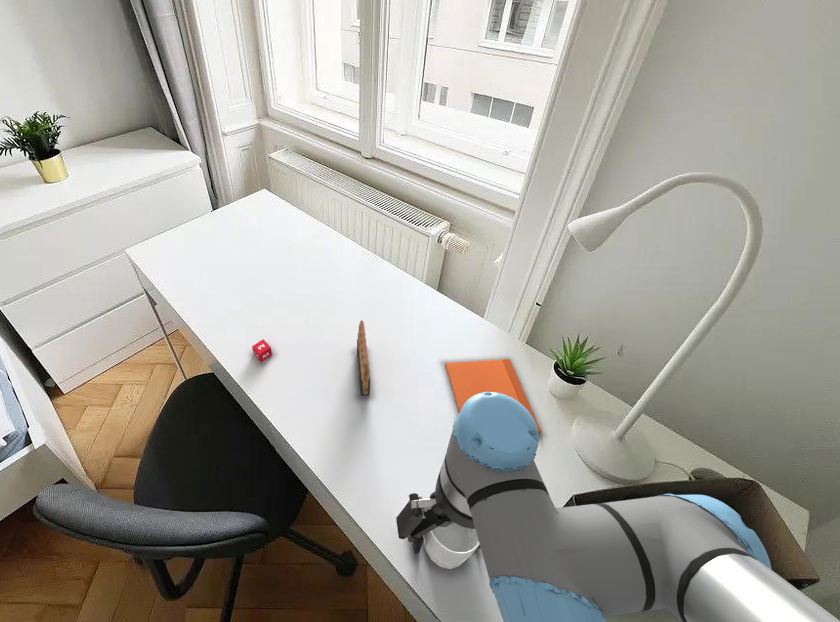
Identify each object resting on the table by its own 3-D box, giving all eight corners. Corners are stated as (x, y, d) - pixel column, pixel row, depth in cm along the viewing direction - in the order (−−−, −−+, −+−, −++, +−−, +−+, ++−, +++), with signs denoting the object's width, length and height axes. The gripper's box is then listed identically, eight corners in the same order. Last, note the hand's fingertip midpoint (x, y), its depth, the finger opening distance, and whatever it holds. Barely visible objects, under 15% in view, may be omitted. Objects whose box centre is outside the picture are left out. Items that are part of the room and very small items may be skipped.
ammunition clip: (356, 352, 91) (356, 317, 84) (365, 352, 91) (365, 316, 84) (360, 396, 83) (361, 361, 75) (369, 395, 83) (371, 360, 75)
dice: (261, 363, 90) (259, 354, 88) (254, 354, 92) (251, 346, 90) (272, 355, 91) (270, 347, 89) (265, 347, 93) (263, 338, 91)
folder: (540, 433, 76) (541, 431, 76) (466, 437, 76) (466, 435, 76) (508, 360, 89) (509, 358, 88) (445, 364, 88) (445, 362, 88)
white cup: (441, 502, 68) (450, 477, 61) (481, 545, 63) (495, 523, 57) (408, 539, 64) (414, 516, 58) (449, 588, 59) (460, 569, 53)
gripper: (545, 446, 52) (503, 509, 67) (379, 456, 52) (373, 517, 66) (573, 513, 46) (521, 566, 61) (387, 525, 46) (379, 575, 60)
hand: (444, 540), depth 63 cm, fingers open, 9 cm apart
